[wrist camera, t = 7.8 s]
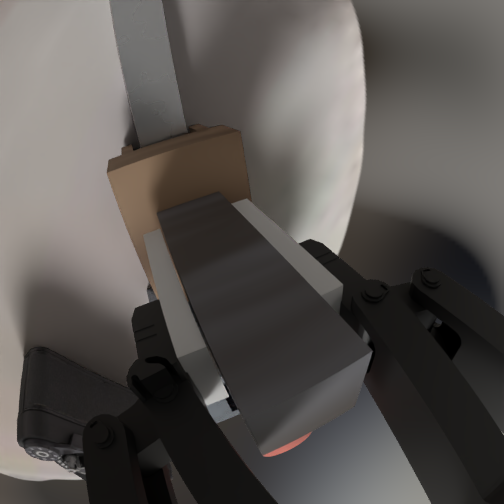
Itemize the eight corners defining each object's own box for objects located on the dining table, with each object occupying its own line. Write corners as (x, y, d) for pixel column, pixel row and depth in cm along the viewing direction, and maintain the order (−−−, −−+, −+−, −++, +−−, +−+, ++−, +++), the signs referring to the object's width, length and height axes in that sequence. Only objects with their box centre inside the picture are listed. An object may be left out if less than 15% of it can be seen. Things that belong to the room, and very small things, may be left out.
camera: (-1, 391, 18) (-3, 480, 11) (37, 335, 18) (32, 449, 10) (107, 434, 27) (125, 507, 20) (162, 394, 27) (192, 479, 19)
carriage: (110, 152, 14) (105, 383, 3) (209, 120, 16) (443, 229, 5) (150, 265, 19) (231, 487, 8) (232, 235, 21) (376, 411, 9)
